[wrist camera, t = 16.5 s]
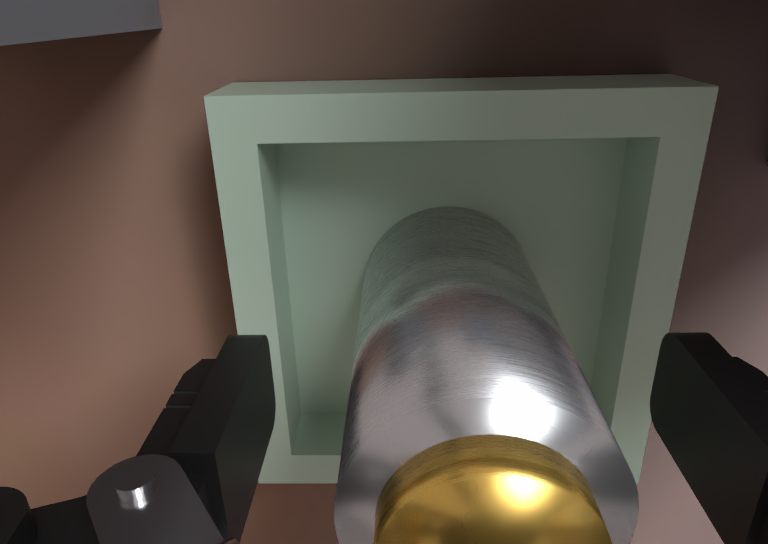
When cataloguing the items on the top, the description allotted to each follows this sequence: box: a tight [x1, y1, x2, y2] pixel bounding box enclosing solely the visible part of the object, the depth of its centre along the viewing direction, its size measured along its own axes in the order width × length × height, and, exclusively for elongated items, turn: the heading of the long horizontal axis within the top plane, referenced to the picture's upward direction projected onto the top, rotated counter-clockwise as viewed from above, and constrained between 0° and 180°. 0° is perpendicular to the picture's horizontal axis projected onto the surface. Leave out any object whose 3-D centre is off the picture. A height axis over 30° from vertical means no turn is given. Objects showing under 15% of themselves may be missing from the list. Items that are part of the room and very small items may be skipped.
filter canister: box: [334, 206, 639, 544], centre depth 12 cm, size 4×4×9 cm
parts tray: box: [204, 74, 719, 484], centre depth 15 cm, size 10×10×2 cm
